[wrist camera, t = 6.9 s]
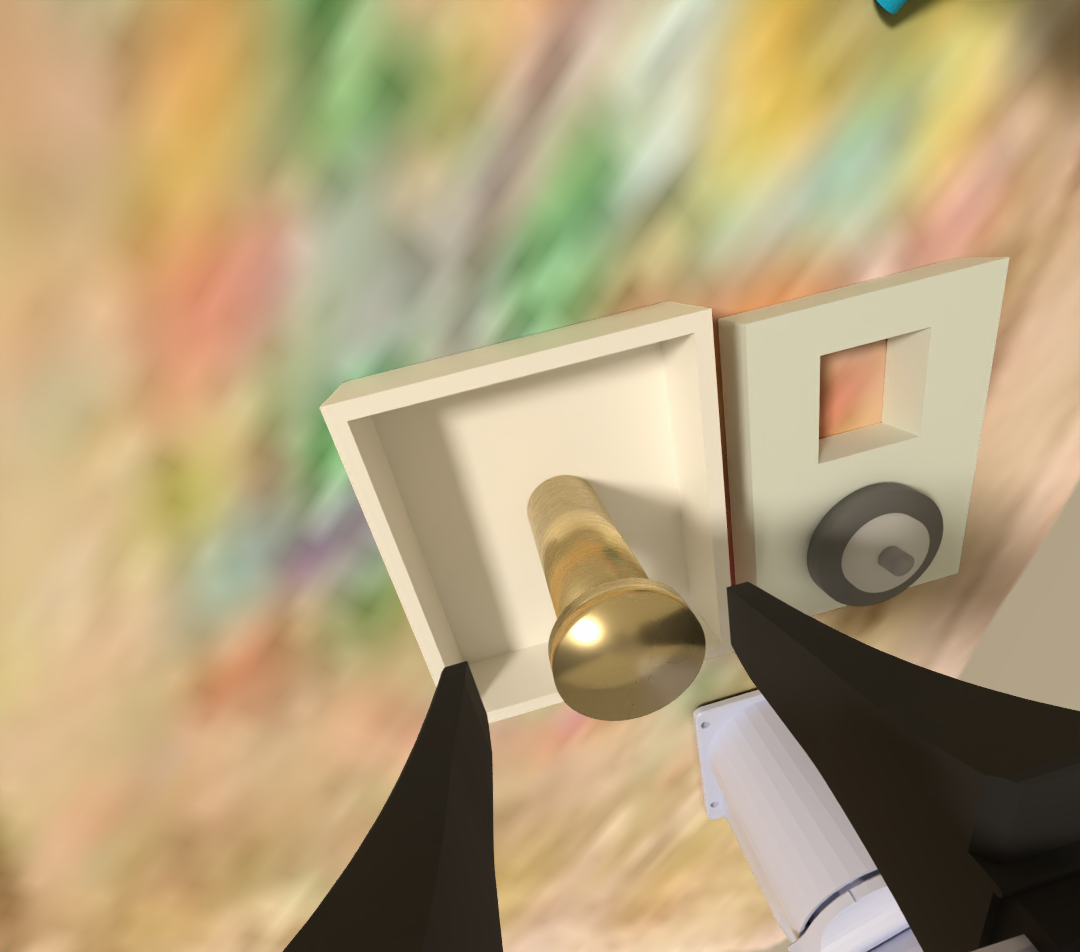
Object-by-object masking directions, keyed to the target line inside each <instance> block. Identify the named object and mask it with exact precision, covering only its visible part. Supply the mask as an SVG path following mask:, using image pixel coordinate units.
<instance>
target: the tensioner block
mask: <svg viewBox="0 0 1080 952" xmlns="http://www.w3.org/2000/svg"><path fill="white" fill-rule="evenodd" d="M1008 263H1009V257H974V258H955V259H951V260H947V261H943V262H939V263H935V264H932V265H928V266H924V267H920V268H916V269H912V270H908V271H904V272H900V273H896V274H892V275H888V276H884V277H880V278H876V279H872V280H869V281H865V282H861V283H857V284H853V285H849V286H845V287H841V288H837V289H833V290H829V291H825V292H821V293H817V294H813V295H809V296H806V297H802V298H798V299H794V300H790V301H786V302H782V303H778V304H774V305H770V306H766V307H762V308H758V309H754V310H750V311H746V312H742V313H739V314H735V315H731V316H727V317H723V318H719V319H718V328H719V343H720V358H721V374H722V389H723V404H724V419H725V434H726V449H727V464H728V480H729V495H730V510H731V525H732V540H733V555H734V570H735V585H737V584H740V583H744V582H747V581H748V582H750V583H752V584H753V585H755V586H757V587H759V588H761V589H762V590H764V591H766V592H767V593H769V594H771V595H773V596H774V597H776V598H778V599H780V600H781V601H783V602H785V603H787V604H788V605H790V606H792V607H794V608H795V609H797V610H799V611H801V612H803V613H804V614H806V615H808V616H813V615H817V614H820V613H824V612H827V611H831V610H834V609H837V608H841V607H844V606H868V605H873V604H877V603H880V602H883V601H886V600H888V599H890V598H892V597H894V596H896V595H898V594H899V593H901V592H902V591H904V590H905V589H907V588H910V587H913V586H916V585H920V584H923V583H927V582H930V581H934V580H937V579H940V578H944V577H947V576H951V575H954V574H958V572H959V566H960V560H961V554H962V547H963V541H964V535H965V529H966V523H967V517H968V510H969V504H970V498H971V492H972V486H973V479H974V473H975V467H976V461H977V455H978V448H979V442H980V436H981V430H982V424H983V418H984V411H985V405H986V399H987V393H988V387H989V380H990V374H991V368H992V362H993V356H994V350H995V343H996V337H997V331H998V325H999V319H1000V312H1001V306H1002V300H1003V294H1004V288H1005V282H1006V275H1007V269H1008ZM887 338H888V340H887V354H886V367H885V381H884V395H883V409H882V422H881V423H877V424H873V425H870V426H866V427H862V428H859V429H855V430H851V431H848V432H844V433H840V434H836V435H833V436H829V437H825V438H822V439H819V396H820V356H822V355H825V354H829V353H833V352H837V351H841V350H845V349H848V348H852V347H856V346H860V345H864V344H868V343H871V342H875V341H879V340H883V339H887Z"/></svg>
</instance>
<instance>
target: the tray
mask: <svg viewBox="0 0 1080 952" xmlns="http://www.w3.org/2000/svg"><path fill="white" fill-rule="evenodd" d="M319 408H320V410H321V412H322V415H323V417H324V420H325V422H326V424H327V427H328V429H329V431H330V434H331V436H332V439H333V441H334V443H335V446H336V448H337V451H338V453H339V455H340V458H341V460H342V463H343V465H344V467H345V470H346V472H347V475H348V477H349V479H350V482H351V484H352V486H353V489H354V491H355V494H356V496H357V498H358V501H359V503H360V506H361V508H362V510H363V513H364V515H365V518H366V520H367V522H368V525H369V527H370V529H371V532H372V534H373V537H374V539H375V541H376V544H377V546H378V549H379V551H380V553H381V556H382V558H383V561H384V563H385V565H386V568H387V570H388V573H389V575H390V577H391V580H392V582H393V584H394V587H395V589H396V592H397V594H398V596H399V599H400V601H401V604H402V606H403V608H404V611H405V613H406V616H407V618H408V620H409V623H410V625H411V628H412V630H413V632H414V635H415V637H416V639H417V642H418V644H419V647H420V649H421V651H422V654H423V656H424V659H425V661H426V663H427V666H428V668H429V671H430V673H431V675H432V678H433V680H434V683H435V685H436V687H437V685H438V682H439V679H440V676H441V672H442V670H443V669H444V667H447V666H451V665H454V664H458V663H461V662H465V661H467V662H468V664H469V667H470V670H471V672H472V675H473V678H474V681H475V683H476V686H477V689H478V691H479V694H480V697H481V700H482V702H483V705H484V708H485V710H486V713H487V717H488V724H489V723H492V722H495V721H499V720H502V719H506V718H509V717H512V716H516V715H519V714H523V713H526V712H530V711H533V710H536V709H540V708H543V707H547V706H550V705H553V704H557V703H560V702H564V700H563V699H562V698H561V696H560V695H559V693H558V691H557V688H556V686H555V682H554V678H553V674H552V670H551V665H550V661H549V656H548V643H549V637H550V634H551V631H552V628H553V626H554V624H555V622H556V620H557V617H556V614H555V610H554V607H553V603H552V600H551V596H550V593H549V590H548V586H547V583H546V579H545V576H544V572H543V569H542V565H541V562H540V558H539V555H538V551H537V548H536V544H535V541H534V537H533V534H532V530H531V527H530V523H529V520H528V516H527V505H528V501H529V499H530V496H531V495H532V493H533V491H534V490H535V489H536V488H537V487H538V486H539V485H540V484H541V483H542V482H544V481H546V480H547V479H550V478H552V477H555V476H559V475H572V476H577V477H580V478H582V479H584V480H585V481H587V482H588V483H589V484H590V485H591V486H592V487H593V489H594V490H595V492H596V494H597V495H598V497H599V499H600V500H601V502H602V503H603V505H604V507H605V508H606V510H607V512H608V513H609V515H610V516H611V518H612V520H613V521H614V523H615V525H616V526H617V528H618V529H619V531H620V533H621V534H622V536H623V537H624V539H625V541H626V542H627V544H628V546H629V547H630V549H631V550H632V552H633V554H634V555H635V557H636V559H637V560H638V562H639V563H640V565H641V567H642V568H643V570H644V572H645V573H646V575H647V576H648V578H649V579H651V580H655V581H658V582H661V583H663V584H666V585H667V586H669V587H671V588H672V589H674V590H675V591H676V592H677V593H679V594H680V596H681V597H682V598H683V599H684V600H685V602H686V603H687V605H688V606H689V608H690V609H691V611H692V612H693V613H694V615H695V616H696V618H697V619H698V621H699V623H700V624H701V626H702V629H703V631H704V635H705V640H706V651H705V657H704V660H707V659H711V658H714V657H717V656H721V655H724V654H728V653H731V652H734V649H733V647H732V646H731V640H730V627H729V614H728V601H727V589H726V587H730V586H731V578H730V564H729V549H728V535H727V521H726V507H725V493H724V479H723V464H722V450H721V436H720V422H719V408H718V394H717V380H716V365H715V351H714V337H713V323H712V309H711V308H706V307H700V306H695V305H689V304H683V303H677V302H671V301H665V302H661V303H657V304H653V305H649V306H645V307H641V308H637V309H633V310H629V311H625V312H621V313H617V314H613V315H609V316H605V317H601V318H597V319H593V320H589V321H585V322H581V323H577V324H573V325H569V326H565V327H562V328H558V329H554V330H550V331H546V332H542V333H538V334H534V335H530V336H526V337H522V338H518V339H514V340H510V341H506V342H502V343H498V344H494V345H490V346H486V347H482V348H478V349H474V350H470V351H466V352H462V353H458V354H454V355H450V356H446V357H442V358H438V359H434V360H430V361H426V362H422V363H418V364H414V365H410V366H406V367H402V368H398V369H394V370H390V371H386V372H382V373H378V374H374V375H370V376H366V377H362V378H358V379H354V380H350V381H346V382H343V383H342V384H341V385H340V386H339V387H338V388H337V390H336V391H335V392H334V393H333V394H332V395H331V396H330V397H329V398H328V399H327V400H326V401H325V402H324V403H323V404H322V405H321V406H320V407H319ZM704 660H703V661H704Z"/></svg>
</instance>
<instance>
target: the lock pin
mask: <svg viewBox="0 0 1080 952" xmlns="http://www.w3.org/2000/svg"><path fill="white" fill-rule="evenodd" d="M527 516H528V520H529V523H530V527H531V530H532V534H533V537H534V541H535V544H536V548H537V551H538V555H539V558H540V562H541V565H542V569H543V572H544V576H545V579H546V583H547V586H548V590H549V593H550V596H551V600H552V603H553V607H554V610H555V614H556V617H557V620H556V622H555V624H554V626H553V628H552V631H551V634H550V637H549V643H548V656H549V661H550V665H551V670H552V674H553V678H554V682H555V686H556V688H557V691H558V693H559V695H560V696H561V698H562V699H563V700H564V702H565V703H566V704H567V705H568V706H570V707H571V708H572V709H573V710H575V711H577V712H578V713H580V714H582V715H585V716H587V717H590V718H594V719H599V720H607V721H620V720H628V719H634V718H638V717H642V716H645V715H647V714H650V713H652V712H655V711H657V710H659V709H661V708H663V707H664V706H666V705H668V704H669V703H671V702H672V701H674V700H675V699H676V698H677V697H679V696H680V695H681V694H682V693H683V692H684V691H685V690H686V689H687V688H688V687H689V686H690V684H691V683H692V682H693V681H694V679H695V678H696V676H697V674H698V673H699V671H700V668H701V666H702V664H703V660H704V657H705V651H706V640H705V635H704V631H703V629H702V626H701V624H700V623H699V621H698V619H697V618H696V616H695V615H694V613H693V612H692V611H691V609H690V608H689V606H688V605H687V603H686V602H685V600H684V599H683V598H682V597H681V596H680V594H679V593H677V592H676V591H675V590H674V589H672V588H671V587H669V586H667V585H666V584H663V583H661V582H658V581H655V580H651V579H649V578H648V576H647V575H646V573H645V572H644V570H643V568H642V567H641V565H640V563H639V562H638V560H637V559H636V557H635V555H634V554H633V552H632V550H631V549H630V547H629V546H628V544H627V542H626V541H625V539H624V537H623V536H622V534H621V533H620V531H619V529H618V528H617V526H616V525H615V523H614V521H613V520H612V518H611V516H610V515H609V513H608V512H607V510H606V508H605V507H604V505H603V503H602V502H601V500H600V499H599V497H598V495H597V494H596V492H595V490H594V489H593V487H592V486H591V485H590V484H589V483H588V482H587V481H585V480H584V479H582V478H580V477H577V476H572V475H559V476H555V477H552V478H550V479H547V480H546V481H544V482H542V483H541V484H540V485H539V486H538V487H537V488H536V489H535V490H534V491H533V493H532V495H531V496H530V499H529V501H528V505H527Z"/></svg>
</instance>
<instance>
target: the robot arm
mask: <svg viewBox="0 0 1080 952" xmlns="http://www.w3.org/2000/svg"><path fill="white" fill-rule="evenodd" d="M726 589H727V601H728V614H729V627H730V640H731V646H732V647H733V649H734V651H735V653H736V655H737V656H738V658H739V660H740V662H741V663H742V665H743V667H744V668H745V670H746V672H747V674H748V675H749V677H750V679H751V680H752V681H753V683H754V684H755V685H756V687H757V688H758V690H755V691H752V692H749V693H745V694H742V695H738V696H735V697H732V698H728V699H725V700H722V701H718V702H715V703H712V704H708V705H705V706H702V707H699V708H697V709H696V710H695V712H694V713H693V718H694V726H695V734H696V742H697V750H698V758H699V766H700V774H701V781H702V789H703V797H704V805H705V812H706V814H707V816H708V818H709V819H711V820H715V819H719V818H722V817H726V819H727V821H728V824H729V826H730V828H731V830H732V832H733V834H734V836H735V838H736V840H737V842H738V844H739V846H740V848H741V850H742V852H743V854H744V856H745V858H746V860H747V862H748V864H749V867H750V869H751V871H752V873H753V875H754V877H755V879H756V881H757V883H758V885H759V887H760V889H761V891H762V893H763V895H764V897H765V899H766V901H767V903H768V905H769V907H770V909H771V912H772V914H773V916H774V918H775V919H776V921H777V923H778V925H779V926H780V928H781V929H782V931H783V932H784V934H785V935H786V936H787V938H788V939H789V940H790V941H791V942H792V944H790V945H789V946H788V950H789V952H1080V711H1076V710H1071V709H1067V708H1062V707H1058V706H1053V705H1049V704H1045V703H1040V702H1036V701H1031V700H1028V699H1024V698H1020V697H1016V696H1013V695H1009V694H1005V693H1002V692H998V691H994V690H991V689H987V688H984V687H981V686H977V685H974V684H971V683H967V682H964V681H961V680H958V679H955V678H952V677H949V676H946V675H943V674H940V673H937V672H934V671H931V670H928V669H926V668H923V667H920V666H918V665H915V664H912V663H910V662H907V661H905V660H902V659H900V658H897V657H895V656H892V655H890V654H887V653H885V652H882V651H880V650H878V649H875V648H873V647H871V646H869V645H866V644H864V643H862V642H860V641H858V640H856V639H854V638H851V637H849V636H847V635H845V634H843V633H841V632H839V631H837V630H835V629H833V628H831V627H829V626H827V625H825V624H823V623H821V622H819V621H817V620H816V619H814V618H812V617H810V616H808V615H806V614H804V613H803V612H801V611H799V610H797V609H795V608H794V607H792V606H790V605H788V604H787V603H785V602H783V601H781V600H780V599H778V598H776V597H774V596H773V595H771V594H769V593H767V592H766V591H764V590H762V589H761V588H759V587H757V586H755V585H753V584H752V583H750V582H748V581H747V582H744V583H740V584H737V585H733V586H730V587H726ZM283 952H503V946H502V937H501V928H500V919H499V909H498V899H497V889H496V879H495V867H494V845H493V772H492V749H491V740H490V732H489V725H488V717H487V713H486V710H485V708H484V705H483V702H482V700H481V697H480V694H479V691H478V689H477V686H476V683H475V681H474V678H473V675H472V672H471V670H470V667H469V664H468V662H467V661H465V662H461V663H458V664H454V665H451V666H447V667H444V669H443V670H442V672H441V676H440V679H439V682H438V685H437V688H436V691H435V694H434V696H433V699H432V702H431V705H430V707H429V710H428V713H427V715H426V718H425V720H424V723H423V725H422V728H421V730H420V733H419V735H418V737H417V740H416V742H415V744H414V747H413V749H412V751H411V753H410V755H409V758H408V760H407V762H406V764H405V766H404V768H403V770H402V772H401V775H400V777H399V779H398V781H397V783H396V785H395V787H394V788H393V790H392V792H391V794H390V796H389V798H388V800H387V802H386V803H385V805H384V807H383V809H382V811H381V812H380V814H379V816H378V818H377V819H376V821H375V823H374V824H373V826H372V828H371V829H370V831H369V833H368V834H367V836H366V837H365V839H364V841H363V842H362V844H361V846H360V847H359V849H358V850H357V852H356V853H355V855H354V857H353V858H352V860H351V861H350V863H349V864H348V866H347V867H346V869H345V870H344V871H343V873H342V874H341V876H340V877H339V878H338V880H337V881H336V883H335V884H334V885H333V887H332V888H331V890H330V891H329V892H328V894H327V895H326V897H325V898H324V899H323V901H322V902H321V904H320V905H319V907H318V908H317V909H316V911H315V912H314V913H313V914H312V916H311V917H310V918H309V920H308V921H307V922H306V924H305V925H304V926H303V927H302V929H301V930H300V931H299V932H298V933H297V935H296V936H295V937H294V938H293V940H292V941H291V942H290V943H289V945H288V946H287V947H286V948H285V949H284V951H283Z"/></svg>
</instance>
